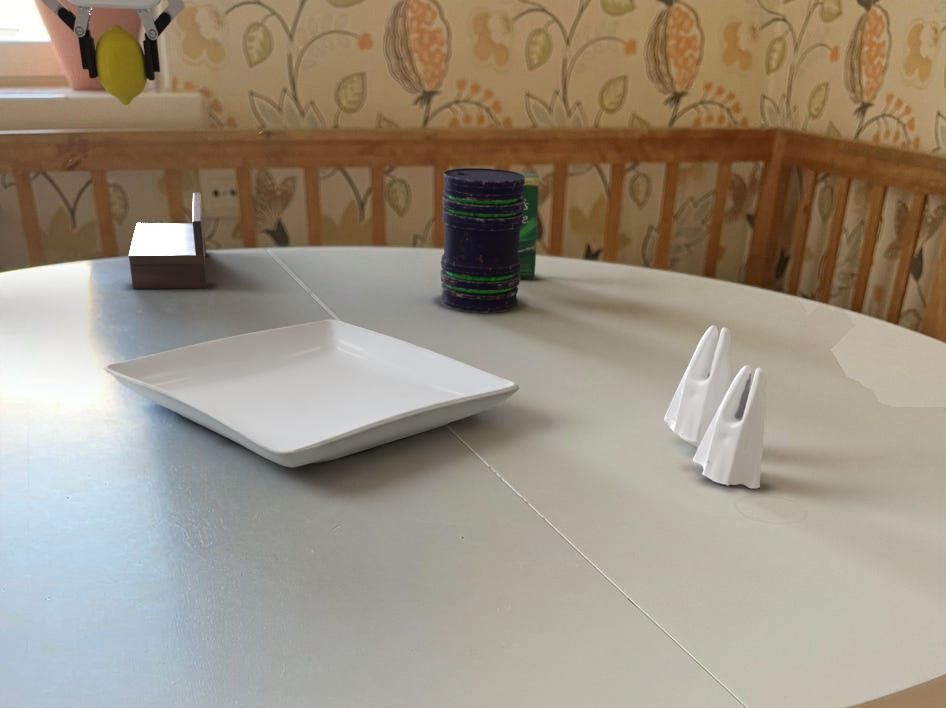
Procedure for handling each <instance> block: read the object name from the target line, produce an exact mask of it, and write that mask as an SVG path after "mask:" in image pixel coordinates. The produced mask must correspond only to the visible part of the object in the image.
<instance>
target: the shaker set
mask: <svg viewBox="0 0 946 708" xmlns="http://www.w3.org/2000/svg"><path fill="white" fill-rule="evenodd" d="M731 357H732V334H731V330H730V329H729V328H727V327H726V326H724V327H722V328H721V329H720V332H719V331H718V327H717V325H715V324H714V325H711V326H709V327H708V328H707V329H706V331H705V332H704V334H703V336H702V337H701V338H700V341H699V342H698V343H697V346H696V348H695V351H694V353H693V355H692V357H691V359H690V362H689V364H688V365H687V368H686V370H685V372H684V374H683V375H682V378H681V380H680V382H679V385H678V386H677V389H676V391H675V393H674V395H673V397H672V399H671V402H670V404H669V406H668V408H667V411H666V413H665V415H664V417H663V421H664V423H665V424H666V426H667V427H668V428H670V429H671V430H672V432H673V433H674V434H676V435H677V436H678V437H679V438H681V439H682V440H683V441H685V442H686V443H688V444H690V445H691V446H693V447H694V448H696V449H697V450H696V452H695V454H694V455H693V458H692V462H693V463H695V464H697V465H700V466H702V468H703V471H702V472H701V474H702V475H703V476H704V477H707V478H708V479H710V480H711V482H715V483H717V484H720V485H726V486H730V485H732V486H737V485H743V486H746V487H747V488H748V489H751V490H753V489H758V488H760V487H761V475H762V473H761V472H762V461H763V448H764V436H765V435H764V434H765V414H766V385H767V378H766V372H765V370H764V369H763V368H761V367H757V368H756V369H755V372H754V375H753V378H752V366H751V365H748V364H746V365H744V366H743V367H741V369H740V370H738V373H737V374H736V376H735V377H734V378H733V381H732V382H731V363H732V362H731Z"/></svg>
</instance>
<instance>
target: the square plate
mask: <svg viewBox="0 0 946 708" xmlns="http://www.w3.org/2000/svg"><path fill="white" fill-rule="evenodd" d="M102 368H103V370H104V371H105V372H106V373H108V374H110V375H111V376H112V377H113V378H114V379H115V380H116V381H117V382H119V383H120V384H121V385H123V386H124V387H125V388H126V389H129V390H130V391H131V392H134V393H135V394H137V395H138V396H141V397H143V398H144V399H147V400H149V401H151V402H153V403H154V404H156V405H159V406H161V407H163V408H165V409H168V410H169V411H172V412H174V413H176V414H178V415H180V416H181V417H184V418H185V419H188V420H189V421H191V422H193V423H196V424H198V425H200V426H202V427H204V428H206V429H209V430H210V431H212V432H214V433H217V434H218V435H220V436H223V437H225V438H227V439H229V440H231V441H232V442H235V443H237V444H239V445H241V446H243V447H244V448H246V449H248V450H249V451H251V452H253V453H255V454H256V455H259V456H261V457H262V458H264V459H267V460H269V461H271V462H274V463H275V464H277V465H280V466H282V467H287V468H297V467H302V466H305V465H309V464H318V463H319V464H320V463H325V462H330V461H333V460H337V459H340V458H344V457H346V456H351V455H353V454H357V453H360V452H363V451H366V450H369V449H372V448H376V447H378V446H382V445H385V444H389V443H391V442H394V441H398V440H401V439H404V438H407V437H412V436H414V435H418V434H421V433H425V432H428V431H432V430H435V429H438V428H441V427H444V426H446V425H448V424H450V423H452V422H456V421H459V420H463V419H465V418H468V417H471V416H475V415H477V414H481V413H483V412H485V411H488V410H490V409H493V408H495V407H497V406H499V405H500V404H502V403H504V402H506V400H508V399H509V398H510V397H512V396H513V395H514V394H515V393H517V392H518V391H519V390H520V385H519V384H517V383H516V382H514V381H512V380H509V379H506V378H503V377H501V376H497V375H495V374H493V373H490V372H487V371H484V370H483V369H479V368H477V367H474V366H472V365H469V364H466V363H464V362H463V361H462V362H461V361H459V360H456V359H454V358H452V357H450V356H449V357H448V356H447V355H444V354H441V353H438V352H435V351H432V350H430V349H427V348H425V347H422V346H419V345H417V344H414V343H411V342H408V341H405V340H403V339H399V338H396V337H393V336H390V335H387V334H384V333H380V332H377V331H373V330H370V329H367V328H364V327H361V326H357V325H354V324H351V323H347V322H345V321H342V320H338V319H334V318H333V319H331V318H330V319H324V320H320V321H313V322H307V323H300V324H295V325H289V326H282V327H277V328H270V329H265V330H259V331H255V332H254V331H253V332H249V333H243V334H238V335H233V336H229V337H223V338H218V339H214V340H208V341H204V342H199V343H195V344H191V345H187V346H186V345H185V346H182V347H178V348H174V349H170V350H165V351H161V352H156V353H153V354H149V355H145V356H140V357H136V358H132V359H127V360H123V361H118V362H114V363H113V362H112V363H109V364H106V365H104V366H103V367H102Z"/></svg>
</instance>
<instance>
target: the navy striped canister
mask: <svg viewBox="0 0 946 708" xmlns="http://www.w3.org/2000/svg"><path fill="white" fill-rule="evenodd" d="M523 174H524V173H520V172H517V171H511V170H506V169H497V168H485V167H484V168H483V167H480V168H479V167H465V168H463V167H462V168H453V169H448V170H446V171H444V172H443V181H444V185H443V195H442V199H441V200H442V201H441V202H442V207H443V208H442V214H441V217H442V223H443V225H444V236H443V238H444V239H443V240H444V241H443V246H444V247H443V254H442V256H441V259H440V264H441V270H440V282H441V286H440V287H441V291H442V294H441V297H440V303H441V304H442V305H443V306H445V307H447V308H449V309H451V310H454V311H455V310H456V311H460V312H466V313H473V314H474V313H476V314H477V313H478V314H494V313H503V312H509V311H512V310H514V309H515V308H516V307H518V298H517V295H518V293H519V292H518V291H519V287H518V286H519V285H520V280H521V279H520V274H519V271H520V268H521V265H520V259H519V258H518V251H519V234H520V227H521V226H522V221H523V212H522V211H523V210H524V199H523V197H524V189H523V185H524V182H525V176H524V175H523Z"/></svg>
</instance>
